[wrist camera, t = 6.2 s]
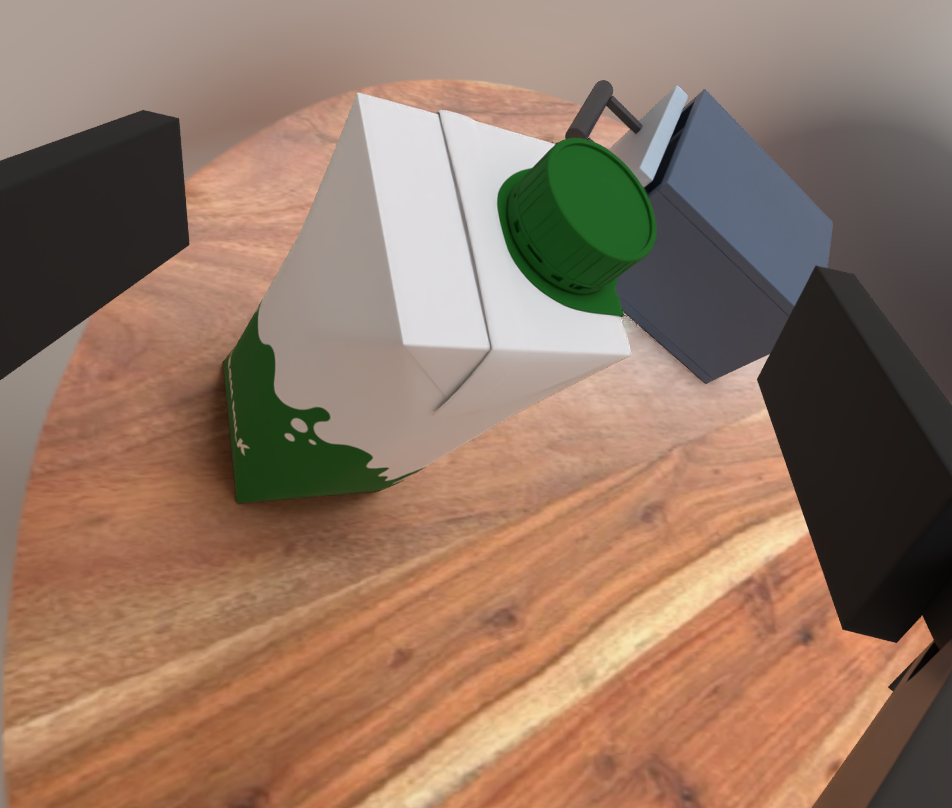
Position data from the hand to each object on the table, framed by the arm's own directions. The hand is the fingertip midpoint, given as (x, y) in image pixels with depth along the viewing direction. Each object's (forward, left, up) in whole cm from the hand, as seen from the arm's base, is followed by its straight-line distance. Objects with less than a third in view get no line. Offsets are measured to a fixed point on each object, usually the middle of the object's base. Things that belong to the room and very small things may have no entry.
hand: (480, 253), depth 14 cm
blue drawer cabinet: (-15, +34, -21) cm, 43 cm away
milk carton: (-3, +3, -21) cm, 22 cm away
